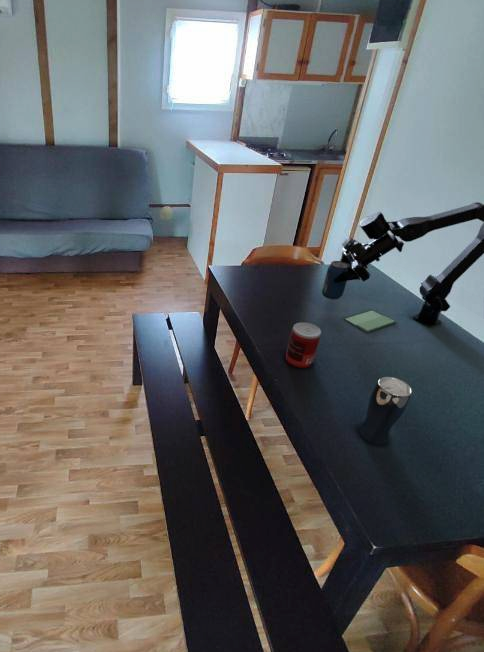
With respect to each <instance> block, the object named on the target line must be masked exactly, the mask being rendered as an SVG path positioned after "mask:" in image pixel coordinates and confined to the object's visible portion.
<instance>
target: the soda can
mask: <svg viewBox="0 0 484 652" xmlns="http://www.w3.org/2000/svg"><path fill="white" fill-rule="evenodd" d="M347 267H348V263H346V262H342V261H340V260H333V261H331V262H330V264H329V265H328V267H327V270H326V273H325V277H324V281H323V285H322V288H321V293H322V296H323V297H324V298H326V299H328V300H339V299H340V298H341V297H342V296H343V295H344V292H345V288H346V285H347V282H348V281H342V282H336V283H335V282H334V281H333V280H334V279H335V278H336V277H337V276H339V275H340V274H341V273H343V272H344V271H345V270H346V269H347Z"/></svg>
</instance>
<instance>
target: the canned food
mask: <svg viewBox="0 0 484 652" xmlns="http://www.w3.org/2000/svg"><path fill="white" fill-rule="evenodd" d="M291 329H292V330H291V332H290V333H291V334H290V337H289V342H288V345H287V349H286V353H285V360H286V362H287V363H288V364H289V365H290V366H292V367H295V368H298V369H306V368H309V367H311V365H312V364H313V363H314V358H315V357H316V352H317V350H318V345H319V342H320V339H321V336H322V330H321V329H320V327H319V326H317V325H315V324H314V323H310V322H297V323H295V324H294V325H293V327H292V328H291Z"/></svg>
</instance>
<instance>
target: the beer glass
mask: <svg viewBox="0 0 484 652" xmlns="http://www.w3.org/2000/svg"><path fill="white" fill-rule="evenodd" d="M412 393H413V389H412V388H411V386H410V385H409V384H408V383H407V382H405V381H404V380H402V379H399V378H396V377H392V376H383V377H380V378H379V379H378V381H377V383H376V385H375V387H374V388H373V390H372V393H371V395H370V397H369V400H368V406H367V411H366V412H367V413H366V417H365V420H364V421H363V423H362V424H361V425H360V426H359V429H358V433H359V436H360V437H361V438H362V439H363V440H365V441H366V442H368V443H370V444H373V445H377V446H379V445H380V446H381V445H384V444H386V443H387V442H388V438H389V433H390V430H391V429H392V427H393V426H394V425H395V424H396V422H397V421H398V420H399V419H400V418H401V416H402V415H403V413H404V412H405V410H406V408H407V406H408V404H409V401H410V398H411V395H412Z"/></svg>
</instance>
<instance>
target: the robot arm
mask: <svg viewBox="0 0 484 652" xmlns="http://www.w3.org/2000/svg"><path fill="white" fill-rule="evenodd" d="M474 220H479V221H481V222H482V224H481V225H480V228H479V230H478V233H477V234H476V237H475V238H474V239H473V240H472V241H471V242H470V243H469V244H468V245H467V246H466V247H465V248H464V249H463V250H462V251H461V252H460V253H459V254H458V255H457V256H456V257H455V258H454V259H453V260H452V261H451V262H450V263H449V264H448V266H446V267H445V268H444V270H442V271H441V272H440V273H439V274H436V275H432V274H429V275H428V276H427V277H426V278H425V280H424V281H422V282H420V284H421V285H420V286H419V294H420V296H421V299H422V300H423V301H424V302H423V303H422V306H421V309H420V310H419V313H418V314H416V315H414V316H412V319H413V320H415V321H418V322H420V323H421V324H423V325H426V326H428V327H433V326H436V325H438V324H441V323H442V320H440V319H439V318H440V315H441V313H442V312H447V311H448V310H449V309H450V308H451V305H450V303H449V302H448V301H447V299H446V298H447V297H448V296H449V295H450V294H451V291H452V288H453V286H454V285H455V282H456V281H458V280H459V278H461V276H463V275H464V273H465V272H467V270H469V268H471V267H472V266H473V265H474V264H475V263H476V262H477V261H478V260H479V259H480V258H481V257H482V256H483V255H484V204H483V203H482V202H480V201H479V202H478V201H477V202H476V201H475V202H472V203H470V204H468V205H464V206H460V207H457V208H453V209H449V210H447V211H443V212H439V213H435V214H431V215H429V216H411V217H405V218H401V219H399V220H395V221H393V220H392V221H387V220H386V218H385V216H384V214H383V213H382V212H381V211H378V212H376V213H373V214H370V215H367V216H366V217H364V218H363V219H362V220H361V221H360V222H359V227H360V228H361V230H362V231H363V233H364V234H365V235H366V237H367V238H368V239H369V240H372V241H370V242H368V241H366V242H363V243H362V242H359V241H358V240H356V239H355V238H352V237H351V236H347V237H346V238H345V239H344V241H343V242H342V244H341V245H342V250H343V251H342V252H341V256H340V257H341V258H340V259H339V261H342V262H346V263H348V267H347V269H346V270H345V271H344V272H343V273H341V274H340V275H339V276H337V277H336V278H335V279H334V280H333V281H334V282H335V283H336V282H342V281H347V282H348V281H349V282H350V281H356V280H357V281H362V282H366V281H367V280H369V279H370V277H371V273H370V272H369V270H368V266H369V265H370V264H371V263H373V262H375V261H376V262H377V263H379V262H380V261H381V259H380V258H382V257H383V256H384V255H386V254H388V253H389V252H392V250H394V249H396V250H397V251H398V252H399V253H402V252H403V248H404V245H405V243H409V242H413V241H415V240H418V239H421V238H423V237H424V236H426V235H427V234H428V233H430V232H434V231H436V230H441V229H444V228H448V227H452V226H455V225H459V224H463V223H466V222H470V221H474ZM389 232H390V233H391V234H390V233H389ZM397 237H398V238H399V239H400V240H398V238H397ZM404 242H405V243H404Z"/></svg>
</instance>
